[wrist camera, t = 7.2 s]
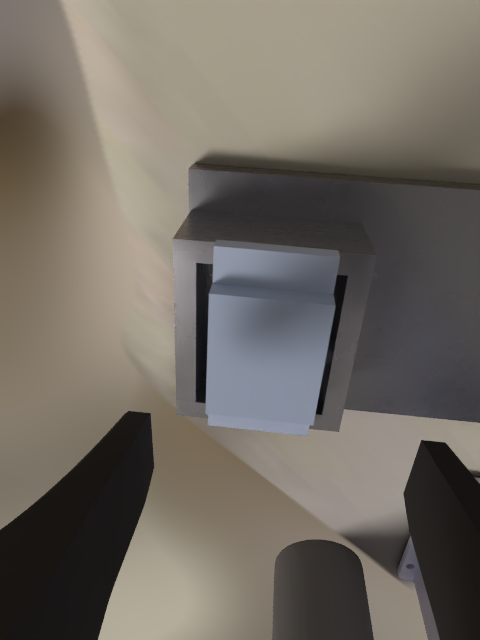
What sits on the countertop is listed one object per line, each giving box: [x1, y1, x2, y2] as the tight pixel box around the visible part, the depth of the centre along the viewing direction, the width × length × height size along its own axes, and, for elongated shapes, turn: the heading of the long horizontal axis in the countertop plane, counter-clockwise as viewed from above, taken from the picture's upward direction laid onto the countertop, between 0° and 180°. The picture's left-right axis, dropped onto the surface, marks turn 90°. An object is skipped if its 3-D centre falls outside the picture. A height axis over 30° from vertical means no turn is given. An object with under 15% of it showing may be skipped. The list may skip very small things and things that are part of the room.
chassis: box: [173, 164, 480, 432], centre depth 19 cm, size 11×15×4 cm
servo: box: [205, 240, 340, 436], centre depth 18 cm, size 8×4×5 cm, turn 177°
